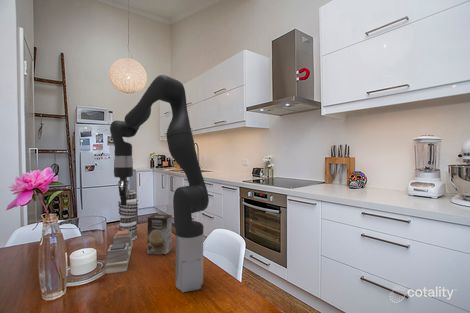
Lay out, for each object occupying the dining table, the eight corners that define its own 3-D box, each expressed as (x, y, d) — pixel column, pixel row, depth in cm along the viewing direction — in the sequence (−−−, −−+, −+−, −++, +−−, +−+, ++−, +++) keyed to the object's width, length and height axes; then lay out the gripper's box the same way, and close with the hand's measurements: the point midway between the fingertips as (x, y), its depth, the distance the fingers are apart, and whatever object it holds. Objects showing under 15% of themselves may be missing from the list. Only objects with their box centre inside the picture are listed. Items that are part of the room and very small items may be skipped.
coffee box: (146, 254, 101) (146, 217, 101) (153, 248, 108) (153, 213, 107) (166, 255, 100) (166, 218, 100) (172, 249, 107) (172, 214, 106)
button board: (126, 270, 87) (126, 250, 87) (105, 273, 84) (105, 253, 84) (132, 246, 109) (132, 230, 109) (115, 248, 107) (115, 232, 107)
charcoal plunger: (123, 259, 89) (123, 247, 89) (111, 261, 87) (111, 248, 87) (125, 254, 93) (125, 243, 93) (113, 256, 92) (113, 244, 92)
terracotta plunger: (127, 243, 102) (127, 233, 102) (116, 244, 101) (116, 234, 101) (128, 240, 106) (128, 229, 106) (118, 241, 105) (118, 230, 105)
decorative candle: (119, 235, 123) (119, 188, 122) (138, 234, 125) (138, 188, 125) (116, 242, 114) (116, 191, 114) (136, 240, 117) (136, 191, 116)
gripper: (131, 166, 98) (131, 207, 98) (133, 165, 110) (133, 201, 111) (111, 167, 95) (111, 209, 96) (116, 165, 108) (116, 202, 108)
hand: (123, 205), depth 103 cm, fingers closed
